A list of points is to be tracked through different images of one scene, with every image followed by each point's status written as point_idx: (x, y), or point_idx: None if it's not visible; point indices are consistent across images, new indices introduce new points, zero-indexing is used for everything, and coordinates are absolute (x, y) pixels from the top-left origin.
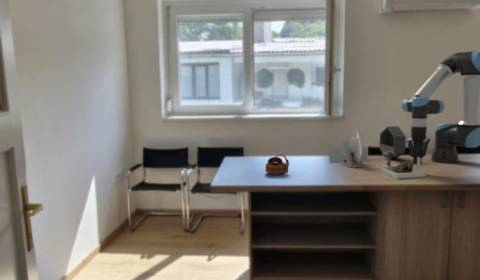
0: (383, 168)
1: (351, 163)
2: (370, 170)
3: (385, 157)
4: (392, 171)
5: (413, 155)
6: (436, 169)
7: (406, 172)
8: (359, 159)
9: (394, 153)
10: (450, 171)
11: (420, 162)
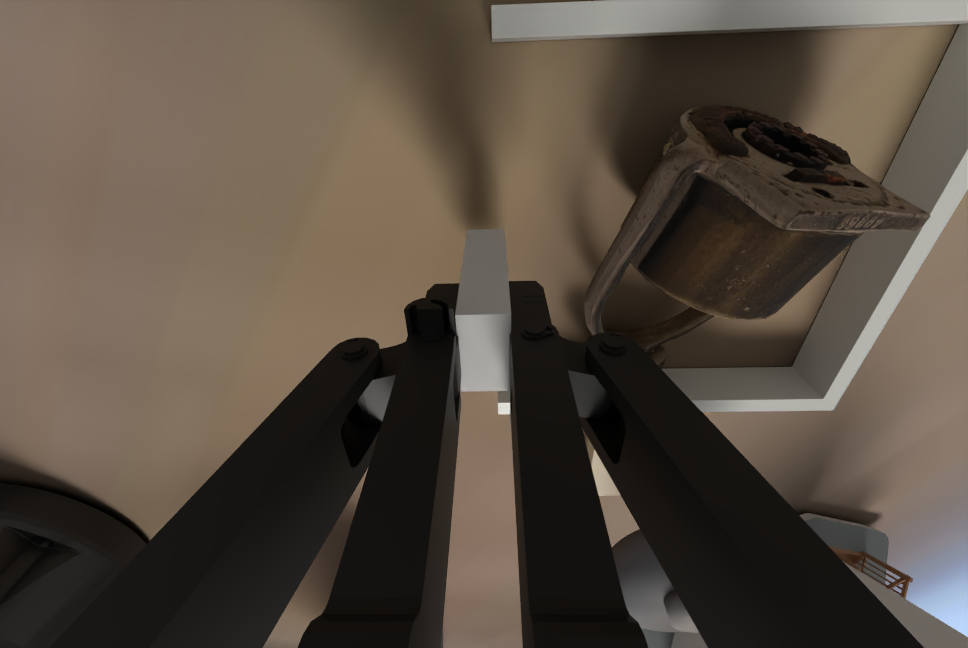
0: (867, 349)
1: (866, 557)
2: (832, 423)
3: (442, 635)
4: (956, 171)
5: (624, 354)
6: (197, 338)
7: (764, 115)
8: None
9: (647, 581)
10: (54, 228)
11: (439, 292)
